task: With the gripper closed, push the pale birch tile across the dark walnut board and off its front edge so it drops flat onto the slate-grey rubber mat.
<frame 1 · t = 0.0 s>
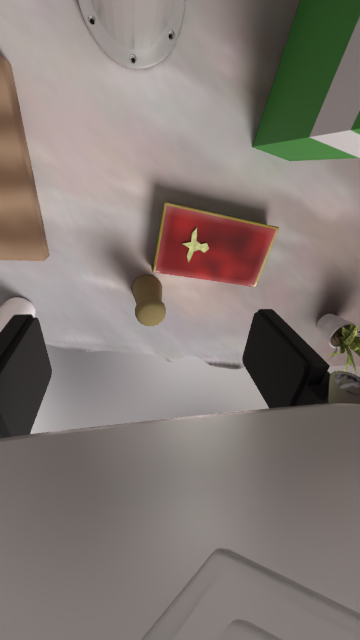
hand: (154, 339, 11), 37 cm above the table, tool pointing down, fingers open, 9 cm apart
hardback book: (295, 85, 37), on the table
hardcover book: (209, 244, 47), on the table
house plant: (330, 320, 63), on the table
cork: (147, 288, 49), on the table
drinking glass: (21, 308, 47), on the table
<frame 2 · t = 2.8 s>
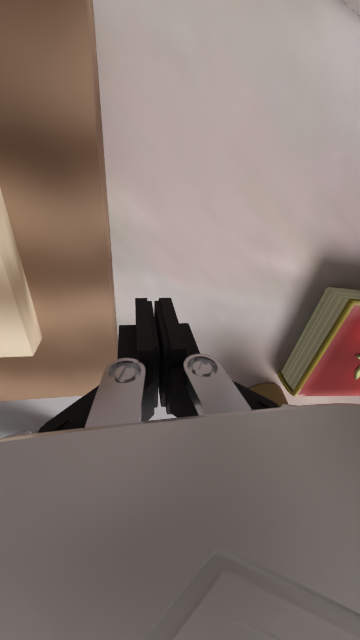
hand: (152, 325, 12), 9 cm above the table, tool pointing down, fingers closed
cork: (258, 398, 31), on the table
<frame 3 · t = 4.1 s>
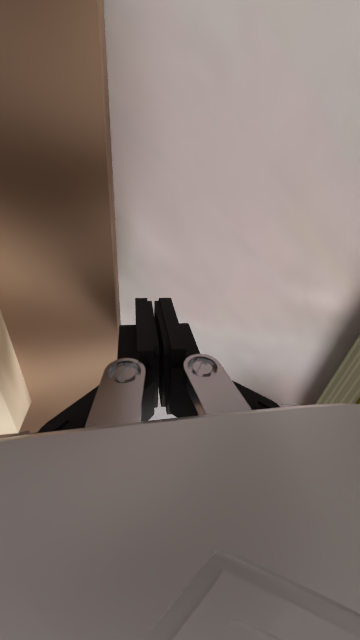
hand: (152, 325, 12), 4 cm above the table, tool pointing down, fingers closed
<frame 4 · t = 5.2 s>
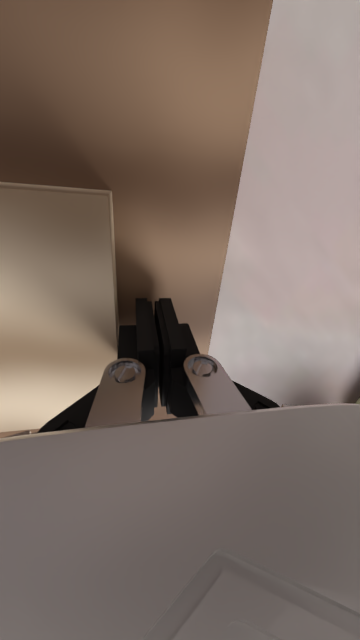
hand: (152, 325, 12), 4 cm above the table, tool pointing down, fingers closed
walnut board: (67, 289, 14), on the table
birch tile: (30, 316, 11), point 3 cm above the table, touching gripper, walnut board
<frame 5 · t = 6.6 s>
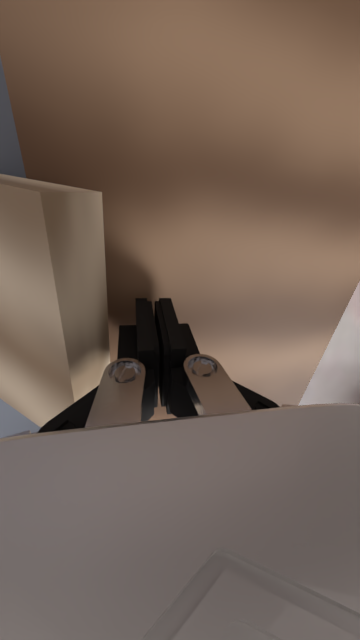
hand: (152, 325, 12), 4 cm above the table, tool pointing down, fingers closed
walnut board: (202, 291, 16), on the table
birch tile: (43, 311, 11), point 3 cm above the table, tilted 38°, touching rubber mat
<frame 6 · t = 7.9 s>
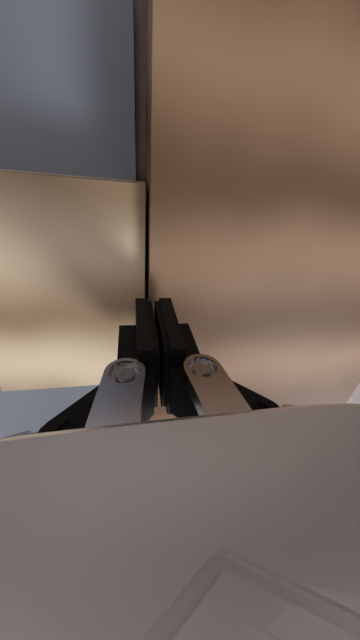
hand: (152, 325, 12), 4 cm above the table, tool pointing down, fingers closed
walnut board: (265, 292, 16), on the table
birch tile: (69, 288, 14), resting on rubber mat
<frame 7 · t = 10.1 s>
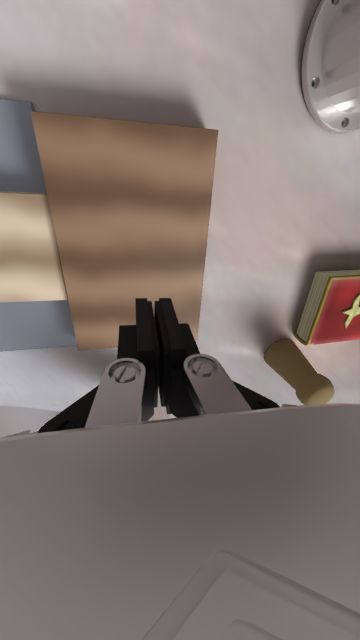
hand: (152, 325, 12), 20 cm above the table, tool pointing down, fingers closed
walnut board: (135, 250, 30), on the table
hardcover book: (354, 299, 42), on the table
cork: (279, 352, 44), on the table
birch tile: (22, 248, 27), resting on rubber mat
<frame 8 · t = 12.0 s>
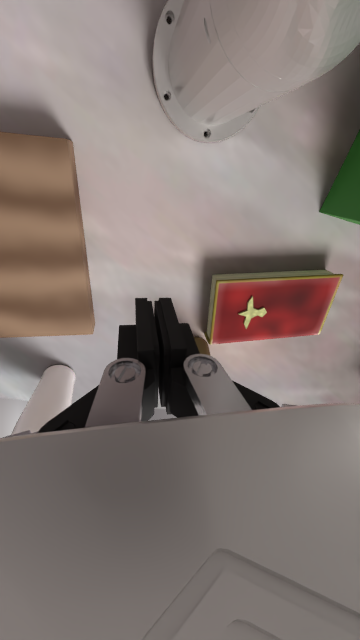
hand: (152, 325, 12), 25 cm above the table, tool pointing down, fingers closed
walnut board: (21, 247, 32), on the table
hardcover book: (262, 300, 44), on the table
cork: (192, 349, 46), on the table
drinking glass: (60, 373, 44), on the table
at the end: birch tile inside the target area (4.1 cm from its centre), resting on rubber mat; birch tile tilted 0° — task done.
